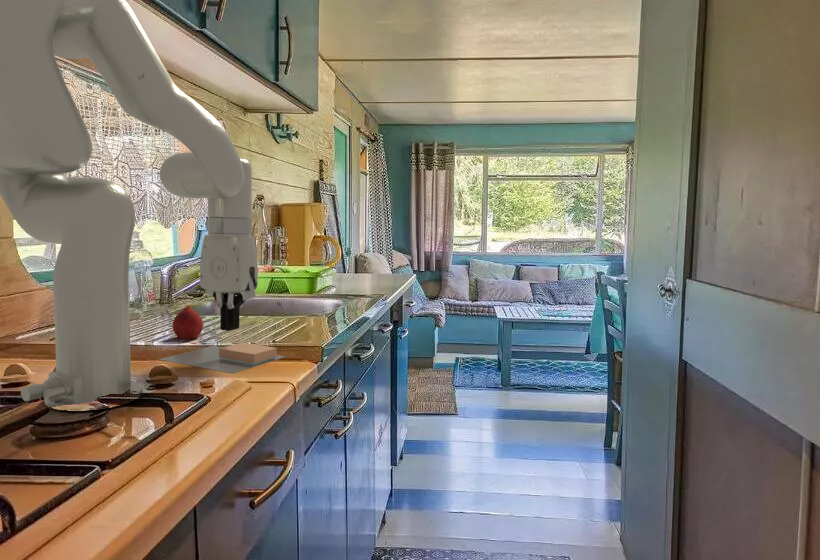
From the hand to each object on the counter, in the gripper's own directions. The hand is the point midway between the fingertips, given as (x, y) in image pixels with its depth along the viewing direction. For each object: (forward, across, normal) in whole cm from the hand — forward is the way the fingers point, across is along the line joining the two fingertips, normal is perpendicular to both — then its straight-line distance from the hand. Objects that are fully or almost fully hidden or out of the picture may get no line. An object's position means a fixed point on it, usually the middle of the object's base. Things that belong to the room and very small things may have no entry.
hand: (230, 329), depth 113 cm
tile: (+4, 0, 0) cm, 4 cm away
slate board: (+6, 0, -2) cm, 6 cm away
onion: (+6, -18, +7) cm, 20 cm away
